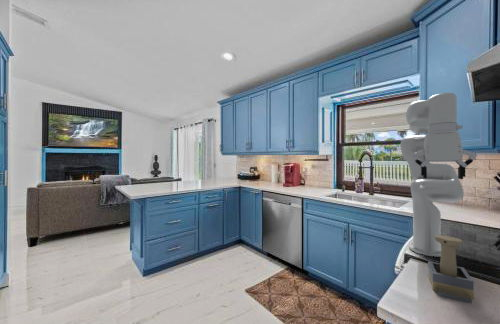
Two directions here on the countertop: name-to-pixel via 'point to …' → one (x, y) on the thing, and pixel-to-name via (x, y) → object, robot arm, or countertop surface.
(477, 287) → the countertop surface
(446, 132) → the robot arm
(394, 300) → the countertop surface
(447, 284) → the open grey tray
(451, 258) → the handle
